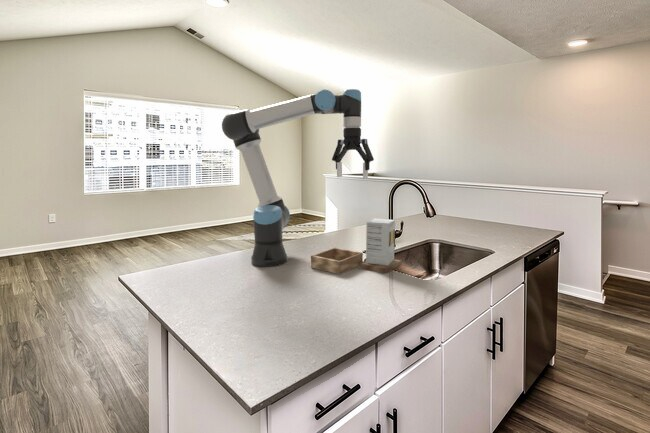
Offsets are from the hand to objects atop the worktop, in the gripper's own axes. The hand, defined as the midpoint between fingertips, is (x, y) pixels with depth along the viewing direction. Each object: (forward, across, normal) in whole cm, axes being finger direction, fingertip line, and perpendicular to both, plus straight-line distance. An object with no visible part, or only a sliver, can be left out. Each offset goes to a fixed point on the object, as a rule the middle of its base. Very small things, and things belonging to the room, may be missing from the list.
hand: (352, 177), depth 166 cm
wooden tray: (+35, -5, +18) cm, 39 cm away
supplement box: (+33, -19, +8) cm, 39 cm away
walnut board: (+35, -20, +8) cm, 41 cm away
